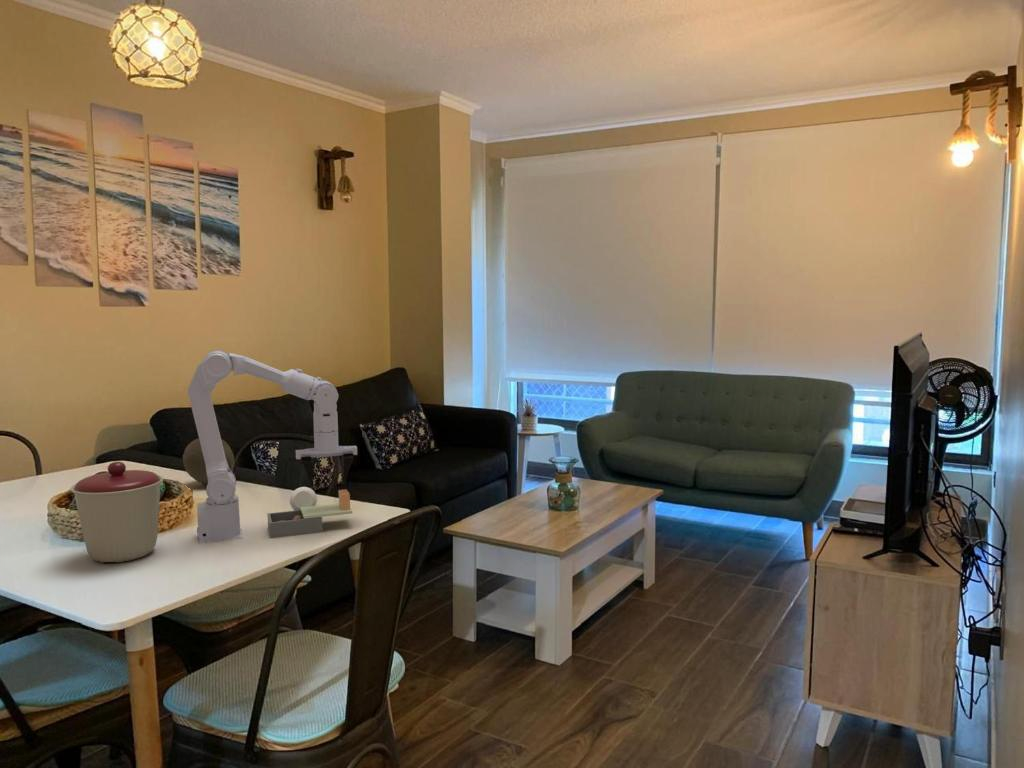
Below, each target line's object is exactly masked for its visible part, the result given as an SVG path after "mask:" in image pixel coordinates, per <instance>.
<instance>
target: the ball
mask: <svg viewBox="0 0 1024 768" xmlns="http://www.w3.org/2000/svg"><path fill="white" fill-rule="evenodd" d="M298 519H304V518H303V516H301V515H297V516H295V517H294V518H293V520H298Z"/></svg>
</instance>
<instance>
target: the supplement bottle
mask: <svg viewBox="0 0 1024 768" xmlns="http://www.w3.org/2000/svg"><path fill="white" fill-rule="evenodd" d="M317 502H318V498H317V494H316V492H315V491H314V490H313V488H311V487H307V486H299V487H298V488H295V489H294V490H293V491H292V492H291V495H290V497H289V506H290V507H291V508H292V511H295V510H300V508H301V507H310V506H317Z"/></svg>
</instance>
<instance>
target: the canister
mask: <svg viewBox="0 0 1024 768" xmlns="http://www.w3.org/2000/svg"><path fill="white" fill-rule="evenodd" d="M163 481H164V477H163V476H162V475H159V474H157V473H155V472H154V471H150V470H142V469H141V470H140V469H128V470H127V467H126V464H125V463H124V462H122V461H113V462H111V463H109V465H108V466H107V472H102V473H96V474H93V475H90V476H87V477H84V478H82V479H80V480H79V481H77V482H76V483H75V484H73V485H72V486H71V487H70V489H69V490H70V492H71V493H73V495H74V498H75V499H74V500H75V504H76V509H77V513H78V517H79V521H80V528H81V532H82V536H83V540H84V544H85V548H86V552H87V553H88V555H89V557H90V558H91V559H92V560H93V561H95V560H96V561H95V562H98V561H99V563H104V562H116V563H122V562H123V563H124V561H125V562H129V561H133V560H136V559H140V558H142V557H145V556H146V555H149V554H150V553H151V552H153V550H154V549H155V547H156V545H157V541H158V531H159V520H160V519H159V516H160V500H161V499H160V497H161V496H160V495H161V494H160V493H161V484H162V483H163Z"/></svg>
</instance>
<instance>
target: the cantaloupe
mask: <svg viewBox="0 0 1024 768" xmlns="http://www.w3.org/2000/svg"><path fill="white" fill-rule="evenodd" d="M221 441H222V445H223V449H224V453H225V457H226V460H227V463H228V467H229V469H230V471H231V472H232V473H233V471H234V467H235V456H234V453H233V451H232V449H231V447H230V445H229V444H228V443H227V442H226V441H225V440H224V439H222V438H221ZM182 463H183V464H182V465H183V467H184V470H185V472H186V473H187V475H189V476H190V477H191V478H192V479H194V480H195V481H196V482H198V483H200V484H203V485H205V486H207V485H208V478H207V472H206V465H205V460H204V456H203V452H202V448H201V444H200V440H199V437H198V438H196V439H193V440H192V441H191V442H190V443H189V444H188V445H187V446H186V447H185V449H184V452H183V454H182Z"/></svg>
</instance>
